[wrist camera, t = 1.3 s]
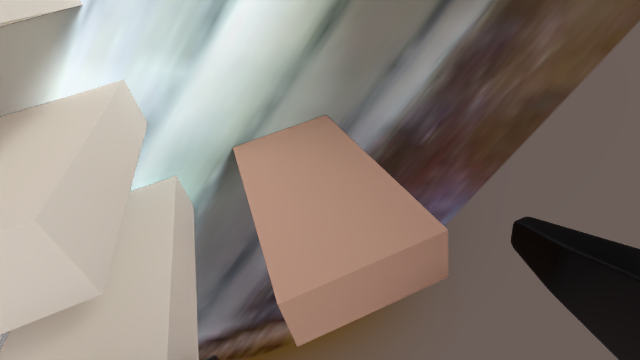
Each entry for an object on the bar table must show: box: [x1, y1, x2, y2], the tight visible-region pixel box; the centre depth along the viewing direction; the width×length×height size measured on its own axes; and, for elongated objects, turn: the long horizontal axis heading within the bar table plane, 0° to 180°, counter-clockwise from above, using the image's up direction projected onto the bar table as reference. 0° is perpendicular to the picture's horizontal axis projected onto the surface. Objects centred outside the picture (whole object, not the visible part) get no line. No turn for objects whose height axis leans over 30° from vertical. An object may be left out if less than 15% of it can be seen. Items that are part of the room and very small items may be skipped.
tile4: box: [0, 80, 148, 335], centre depth 10 cm, size 2×5×10 cm, turn 103°
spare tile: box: [233, 115, 448, 346], centre depth 14 cm, size 2×5×10 cm, turn 103°
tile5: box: [0, 176, 199, 360], centre depth 13 cm, size 2×5×10 cm, turn 103°
